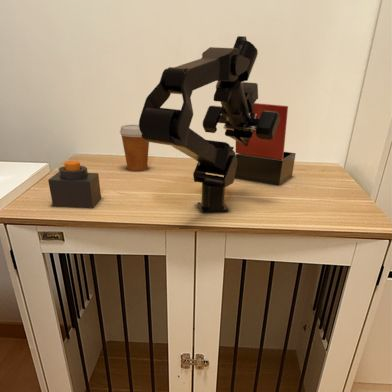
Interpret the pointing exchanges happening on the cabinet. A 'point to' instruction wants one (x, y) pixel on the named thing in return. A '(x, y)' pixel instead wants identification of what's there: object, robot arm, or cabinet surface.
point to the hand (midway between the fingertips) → (246, 144)
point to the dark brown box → (265, 168)
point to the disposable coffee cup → (134, 147)
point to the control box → (75, 188)
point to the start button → (72, 165)
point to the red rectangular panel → (263, 146)
